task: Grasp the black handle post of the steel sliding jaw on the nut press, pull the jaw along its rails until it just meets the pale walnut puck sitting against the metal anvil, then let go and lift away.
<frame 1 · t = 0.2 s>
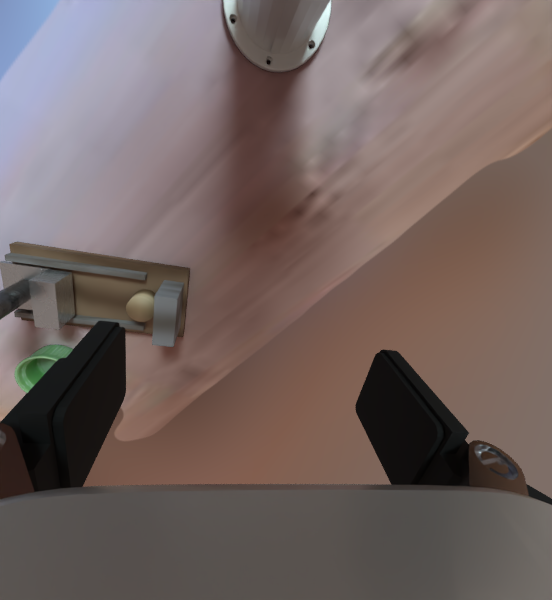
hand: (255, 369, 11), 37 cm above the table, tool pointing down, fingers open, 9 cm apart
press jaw: (14, 305, 38), point 8 cm above the table, slide at 0.0 cm
press frame: (115, 292, 46), on the table
walnut: (146, 300, 46), point 1 cm above the table, touching press frame
ramekin: (61, 362, 51), on the table
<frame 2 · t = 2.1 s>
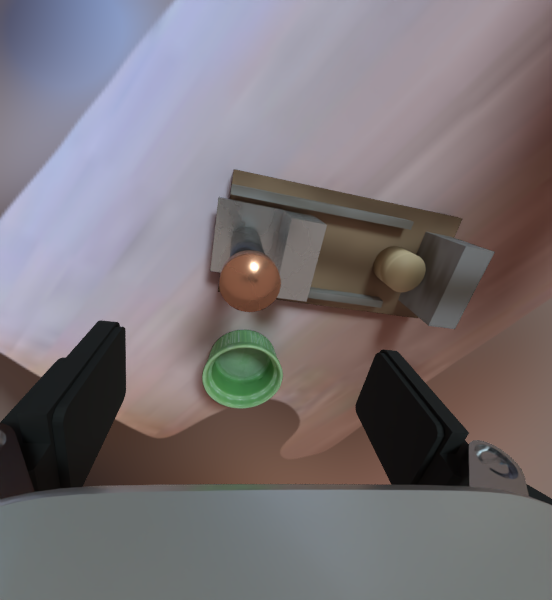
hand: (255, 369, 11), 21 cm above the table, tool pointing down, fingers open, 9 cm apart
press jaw: (265, 260, 23), point 8 cm above the table, slide at 0.0 cm
press frame: (343, 252, 32), on the table
walnut: (390, 263, 32), point 1 cm above the table, touching press frame
ramekin: (242, 354, 37), on the table
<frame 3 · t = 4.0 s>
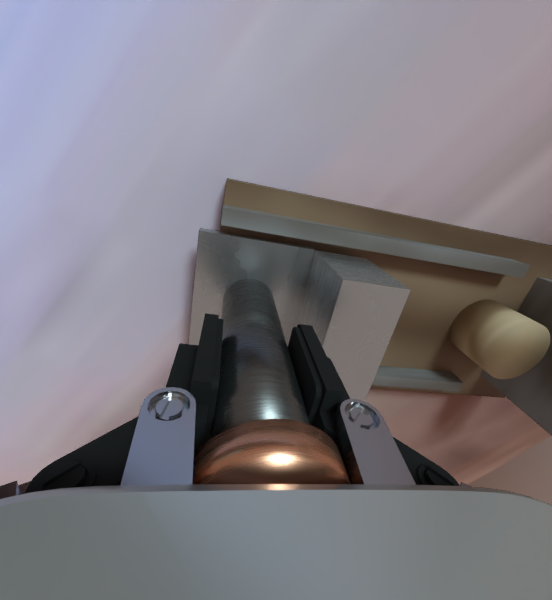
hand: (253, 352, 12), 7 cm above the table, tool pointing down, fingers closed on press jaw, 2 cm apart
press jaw: (290, 361, 12), point 8 cm above the table, slide at 0.0 cm, touching gripper
press frame: (401, 307, 20), on the table
walnut: (477, 325, 20), point 1 cm above the table, touching press frame
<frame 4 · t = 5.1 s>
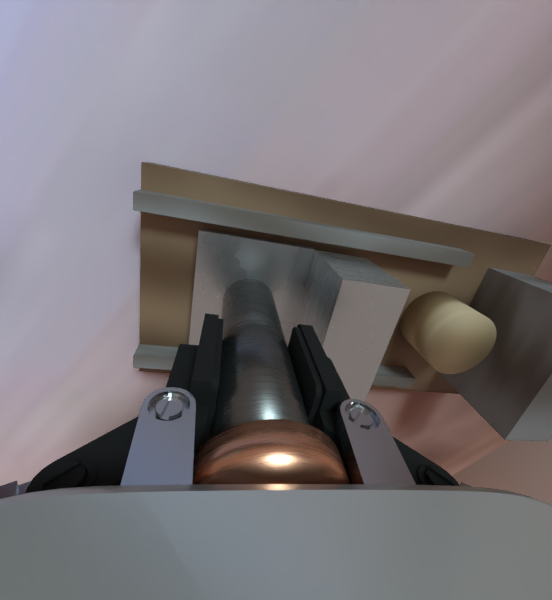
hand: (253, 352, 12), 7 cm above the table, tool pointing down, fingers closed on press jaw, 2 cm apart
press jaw: (290, 361, 12), point 8 cm above the table, slide at 3.9 cm, touching gripper
press frame: (351, 300, 20), on the table
walnut: (428, 318, 19), point 1 cm above the table, touching press frame
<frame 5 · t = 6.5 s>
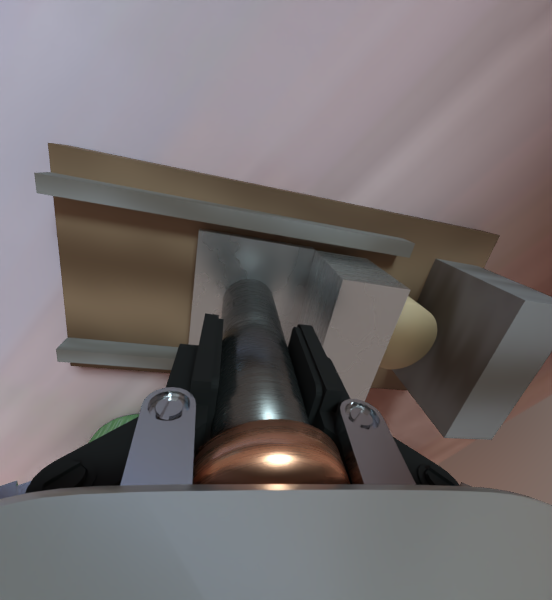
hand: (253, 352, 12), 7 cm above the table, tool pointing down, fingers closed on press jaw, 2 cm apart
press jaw: (290, 361, 12), point 8 cm above the table, slide at 7.7 cm, touching gripper
press frame: (296, 292, 19), on the table
walnut: (375, 312, 18), point 1 cm above the table, touching press frame
ramekin: (146, 446, 23), on the table
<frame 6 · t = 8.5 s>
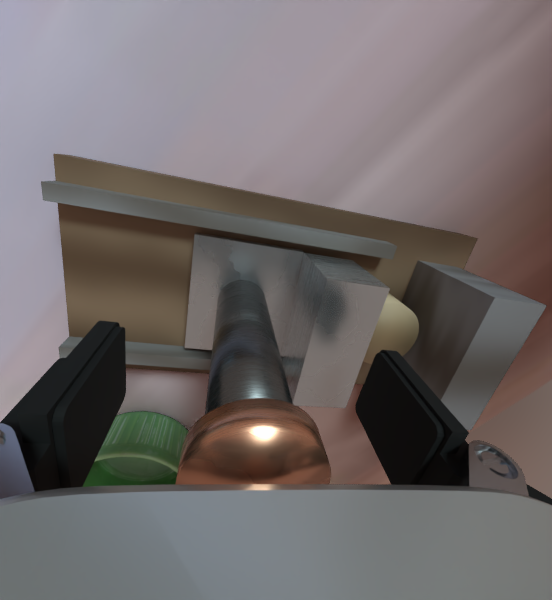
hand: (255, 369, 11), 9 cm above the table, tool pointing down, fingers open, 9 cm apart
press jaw: (279, 355, 13), point 8 cm above the table, slide at 7.8 cm
press frame: (287, 293, 20), on the table
walnut: (363, 311, 20), point 1 cm above the table, touching press frame
ramekin: (144, 443, 24), on the table
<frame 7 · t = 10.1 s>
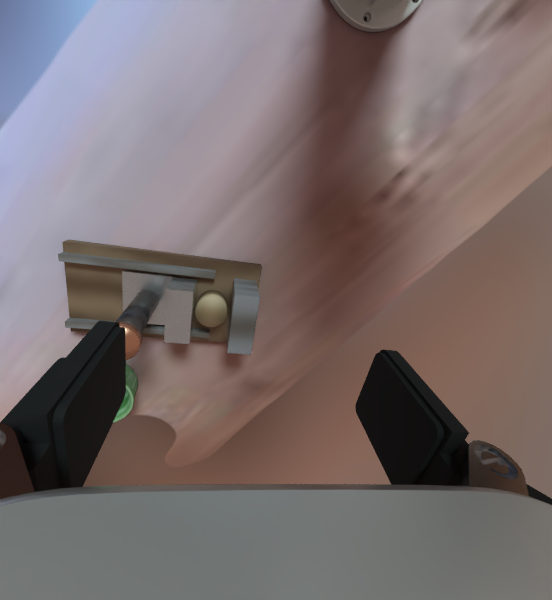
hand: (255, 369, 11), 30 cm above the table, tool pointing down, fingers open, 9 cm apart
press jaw: (149, 318, 33), point 8 cm above the table, slide at 7.8 cm
press frame: (176, 295, 40), on the table
walnut: (212, 303, 40), point 1 cm above the table, touching press frame
ramekin: (111, 379, 44), on the table
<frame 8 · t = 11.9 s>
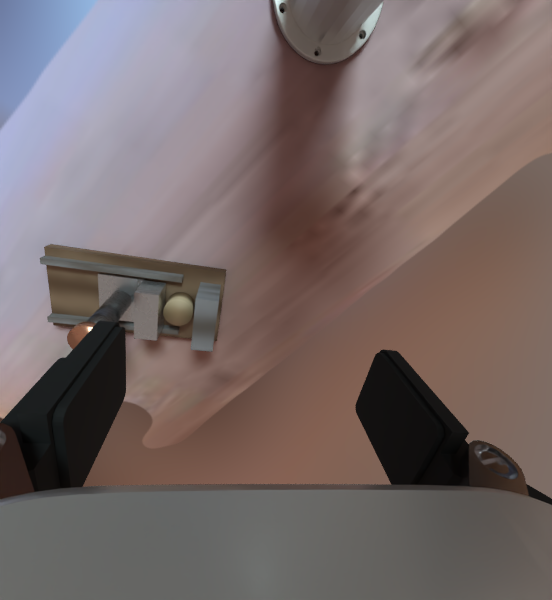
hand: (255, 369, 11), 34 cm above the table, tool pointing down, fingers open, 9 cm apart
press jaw: (119, 317, 38), point 8 cm above the table, slide at 7.8 cm
press frame: (149, 295, 45), on the table
walnut: (181, 303, 44), point 1 cm above the table, touching press frame
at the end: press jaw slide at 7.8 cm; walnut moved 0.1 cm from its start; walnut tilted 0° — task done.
